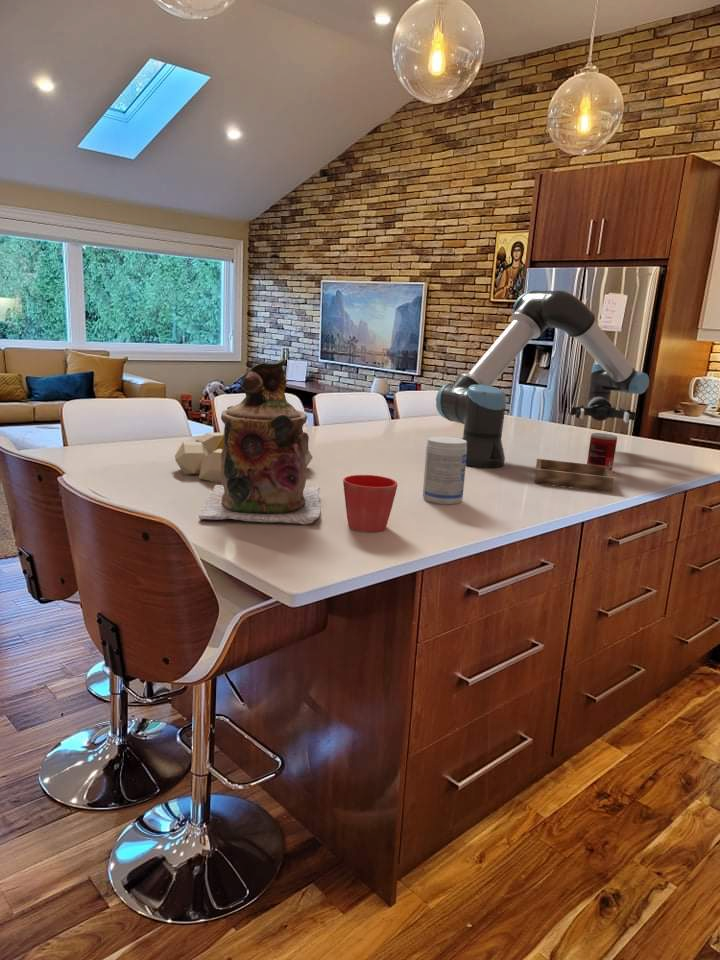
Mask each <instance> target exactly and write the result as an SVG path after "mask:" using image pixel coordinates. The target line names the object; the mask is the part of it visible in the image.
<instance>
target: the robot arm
mask: <svg viewBox="0 0 720 960" xmlns="http://www.w3.org/2000/svg"><path fill="white" fill-rule="evenodd" d="M510 321H511V322H510V323H509V324H508V325H507V327H506V328H505V329H504V330H503V331H502V332H501V334H500V335H499V336H498V337H497V338H496V340H495V341H494V342H493V343H492V344H491V345H490V347H488V349H487V350H486V351H485V353H483V355H482V356H481V357H480V358H479V360H478V361H477V362H476V363H475V364H474V365H473V367H471V369H470V370H469V371H468V372H467V373H462V374H459V376H458V377H457V378H456V379H455V381H453V383H447V384H444V385H443V386H441V387H440V389H439V390H438V391H437V394H436V397H435V402H436V404H435V406H436V407H435V408H436V410H437V413H438V414H439V415H440V417H442V418H444V419H446V420H447V421H450V422H455V423H457V424H462V425H463V433H462V434H463V435H462V438H461V439H463V440H466V441H467V456H466V466H469V467H475V468H476V467H477V468H485V469H488V468H489V469H491V468H501V467H504V466H505V461H506V457H505V453H504V452H505V451H504V447H503V441H502V436H503V427H504V420H505V413H506V407H507V406H506V405H507V403H506V399H507V398H506V397H507V395H506V392H505V391H504V390H502V389H501V388H498V387H495V386H493V385H494V384H495V382H496V381H497V380H498V379H499V378H500V376H501V375H503V374H504V372H505V371H506V370H507V369H508V367H509V366H510V365H511V363H512V362H513V361H514V360H515V359H516V357H517V356H518V355H519V354H520V353H521V352H522V351H523V350H524V348H525V347H526V346H527V345H528V343H529V342H530V341H531V340H533V339H538V338H540V336H541V335H542V334H543V332H545V330H546V329H559V330H561V331H564V332H565V333H566V334H567V335H568V336H569V337H570V338H573V339H574V338H575V339H576V340H577V341H578V342H579V343H580V345H581V346H582V347H583V348H584V349H585V350H586V352H587V353H588V354H589V355H590V356H591V357H592V359H594V361H595V362H594V363H593V364H592V368H591V372H590V380H589V388H588V389H589V390H588V395H587V400H586V404H585V405H584V404H581V405H579V406H572V407H571V408H570V416H575V419H576V418H577V419H581V420H584V416H588V417H591V418H592V419H593V420H595V421H599V422H601V421H605V420H607V419H608V418H609V419H614V418H616V419H622V420H623V422H624V423H625V424H626V423H627V424H628V423H629V420H630V421H636V414H637V412H635V411H631V409H623V408H621V407H620V408H617V409H616V407H613V406H612V404H611V401H610V399H611V393H612V391H614V392H621V393H627V394H631V395H633V394H634V395H642V394H644V393H645V392H646V391H647V389H648V388H649V386H650V385H649V384H650V378H649V374H648V373H645V372H642V371H641V370H638V371H637V370H636V369H635V368H634V366H632V364H631V363H630V362H629V361H628V360H627V358H626V357H625V356H624V354H623V353H622V352H621V351H620V350H619V349H618V348H617V346H616V344H614V343H613V341H612V340H611V339H610V338H609V337H608V335H607V334H606V333H605V331H604V330H603V329H602V328H601V326H599V324H598V322H597V321H596V315H595V314H594V313H593V311H592V310H590V308H589V307H588V306H587V305H586V304H585V303H584V302H583V301H581V300H580V299H579V298H578V297H577V296H575V295H573V294H572V293H570V292H568V291H565V290H531V291H527V292H524V293H522V294H521V295H520V296H519V297H518V298H517V299H516V300H515V301H514V304H513V310H512V314H511V315H510Z"/></svg>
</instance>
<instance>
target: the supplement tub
mask: <svg viewBox="0 0 720 960" xmlns="http://www.w3.org/2000/svg"><path fill="white" fill-rule="evenodd" d="M466 456H467V441H466V440H463V439H462V438H458V437H450V436H431V437H428V438H427V442H426V449H425V458H424V459H425V461H424V472H423V473H424V475H423V488H422V497H423V499H424V500H425V501H427V502H429V503H433V504H438V505H455V504H456V505H457V504H459V503H461V502H462V500H463V499H464V498H463V497H464V489H465V488H464V487H465V486H464V485H465V478H466V477H465V476H466V467H467V465H466Z"/></svg>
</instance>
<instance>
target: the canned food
mask: <svg viewBox="0 0 720 960" xmlns="http://www.w3.org/2000/svg"><path fill="white" fill-rule="evenodd" d="M617 443H618V436H617V435H616V434H615V435H614V434H611V433H603V432H602V433H601V432H593V433H591V435H590V439H589V447H588V451H587V452H588V454H587V460H586V464H590V465H600V466H608V467H609V469H610V471H611V472H612V470H613V467H614V461H615V457H616V456H615V455H616V449H617V448H616V447H617Z"/></svg>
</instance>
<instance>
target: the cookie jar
mask: <svg viewBox="0 0 720 960" xmlns="http://www.w3.org/2000/svg"><path fill="white" fill-rule="evenodd" d="M285 362H286V359H285V358H281V360H280V361H277V362H260V363H257V364H254V365H253V366H252V367H250V368H249V369H248V370H247V371H246V372H245V374H244V376H243V378H242V379H243V380H242V382H241V387H242V389H243V391H244V393H245V397H244V398H243V400H241V401H240V403H238V404H235V405H232V406H233V407H231V408H229V409H228V410H227V409H225V410H223V411H221V414H220V415H221V416H220V419H221V421H222V423H223V424H224V427H223V428H224V429H223V431H224V432H223V433H224V445H223V449H222V453H221V482H220V483H221V484H215V485H214V486H213V489H212V492H211V494H210V495H209V497H208V498H207V500H206V499H205V504H204V506H203V509H202V510H201V511H200V514H198V520H200V521H202V520H213V521H215V520H228V519H229V520H231V519H232V520H236V521H237V520H239V521H243V522H255V523H256V522H258V523H259V522H260V523H279V524H280V523H281V524H283V523H284V524H301V525H310V524H312V523H313V522H314V521H316V520H317V519H319V518H320V516H321V504H320V495H319V493H320V486H317V485H316V486H308V487H306V480H307V471H308V470H307V468H308V467H306V458H305V456H306V455H307V454H308V450H309V441H310V440H309V434H308V433H307V432H305V431H303V428H304V427H303V426H304V425H305V424H306V422H307V420H308V415H307V414H306V413H305V412H303V411H300V410H297V409H296V408H295V407H294V406H293V405H292V404H291V403H289V402H288V401H287V399H286V393H285V392H286V387H287V379H286V378H285V369H283V368H284V364H285ZM309 451H310V450H309Z"/></svg>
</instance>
